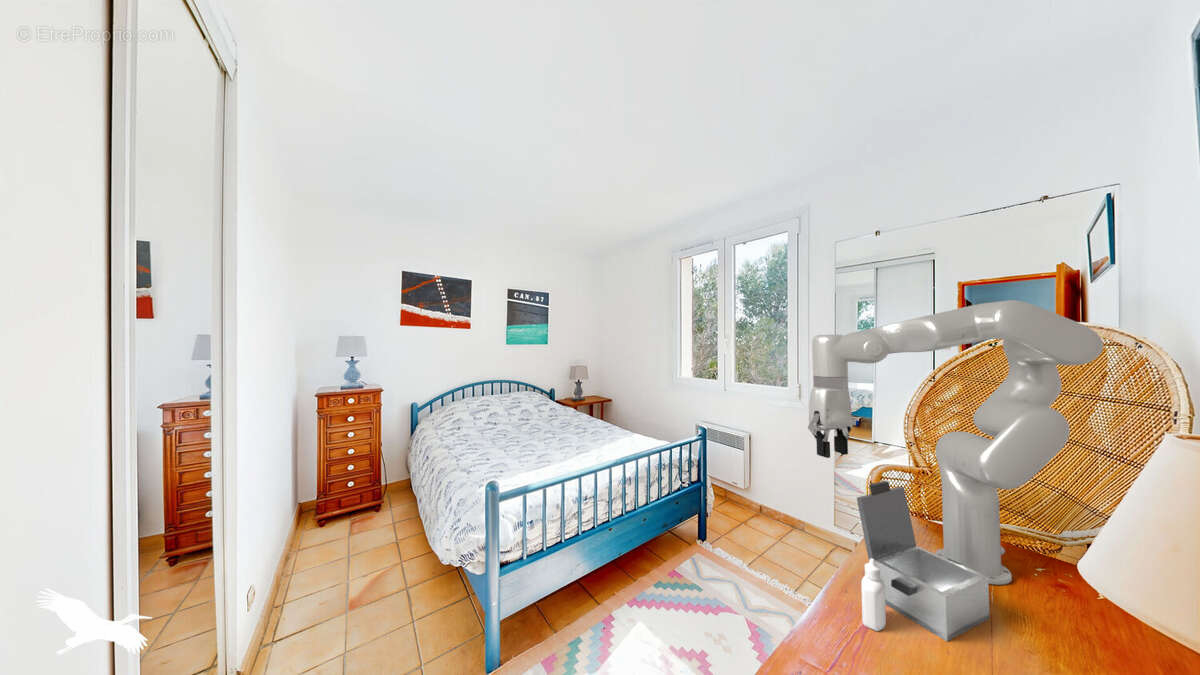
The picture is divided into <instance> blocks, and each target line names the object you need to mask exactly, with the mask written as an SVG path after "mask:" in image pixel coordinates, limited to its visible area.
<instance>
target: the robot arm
mask: <svg viewBox="0 0 1200 675" xmlns="http://www.w3.org/2000/svg"><path fill="white" fill-rule="evenodd" d="M811 340H812V343H811V344H812V346H811V347H812V348H811V352H812V375H813V376H812V379H813V380H812V382H813V384H812V385H813V387H812V388H811V391H810V396H809V403H808V404H809V406H808V423H809V424H808V426H807V429H808V430H809V432H811V434H812V435H813V437H814V439H815V441H816V456H820V457H823V458H827V459H829V458H831V443H830V442H831V441H828V440H829V436H830V431H833V430H834V433H835V435H834V436H833V442H834V445H833V446H834V448H833V449H834V452H835V453H839V454H842V455H849V439H850V432H851V431H852V427H853V426H854V425H855V421H854V419H853V416H852V411H853V410H852V403H851V402H852V401H851V397H850V396H851V395H850V391H849V372H848V371H849V366H848V363H857V364H858V363H860V364H869V365H870V364H871V365H872V364H876V363H879V362H881V361H883V360H884V359H886V357H888V355H890V354H898V353H900V354H901V353H926V352H935V351H939V350H944V349H949V348H952V347H957V346H962V345H966V344H973V343H978V342H982V341H983V342H984V341H988V340H1003V341H1002V348H1003V353H1004V355H1005V357H1006V359H1007V363H1008V373H1007V375H1006V378H1005V379H1004V380H1003V381H1002V383H1000V385H999V386H998V387H996V389H995V390H994V391H993V392H992V393H991V394H990V395H989V396H988V398H986V399H985V400H984V401H983V403H981V404H980V406H978V408H977V409H976V411H975V412H974V414H973V417H972V418H973V420H972V421H973V424H974V426H975V427H976V428H977V429H978V430H979V431H980V432H982V433H983V434H986V435H988V436H990V437H993V439H990V438H987V437H984V436H982V435H979V434H974V433H971V432H967V431H958V430H957V431H951V432H946V433H945V434H943V435H942V436H941V437H939V439H938V440H937V441H936V445H935V455H936V460H937V464H938V468H939V472H940V480H941V500H942V501H941V503H942V504H941V506H942V532H943V534H942V536H943V539H942V540H943V548H939V549H937V550H936V551H935V554H937V555H939V556H941V557H943V558H949V559H951V560H953V561H956V562H958V563H960V564H963V565H965V567H966V568H969V569H971V570H973V571H975V572H978V573H980V574H982V575H985V576H987V577H988V585H1000V586H1001V585H1008V584H1009V583H1011V582H1012V580H1013V578H1012V573H1011V571H1010V570H1009V569H1008V568H1007V567H1006V566H1004V565H1003V564H1002V555H1004V554H1005V553H1006V550H1005V548H1004V547H1003V546H1002V545H1001V525H1000V524H1001V523H1000V521H1001V520H1000V498H999V497H1000V496H999V491H998V489H999V490H1012V489H1013V490H1014V489H1016V488H1019V487H1021V486H1023V485H1025V484H1027V483H1028V482H1029V481H1031V479H1033V478H1034V477H1035V476H1036V475H1037V474H1038V473H1039V472H1040V471H1041V470H1042V469H1043V468H1044V467H1045V466H1046V465H1047V464H1048V463H1049V462H1050V461H1051V460H1052V459H1053V458H1055V456H1056V455H1057V454H1058V453H1059V452H1060V451H1062V449H1063V448H1064V447H1065V446H1066V444H1067V442H1068V440H1069V437H1070V433H1071V431H1070V430H1071V429H1070V424H1069V422H1068V420H1067V418H1066V417H1065V415H1063V414H1062V413H1061V412H1060V411H1058V410H1056V409H1054V408H1052V407H1051V405H1053V404H1054V402H1055V401H1056V400H1057V399H1058V397H1059V395H1060V393H1061V391H1062V387H1063V386H1062V380H1061V377H1060V373H1059V370H1058V368H1057V365H1058V366H1082V365H1085V364H1089V363H1091V362H1093V361H1095V360H1096V359H1097V358H1099V357H1100V355H1101V353H1102V352H1103V351H1104V350H1103V348H1104V342H1103V340H1102V337H1101V336H1100V335H1099V334H1098V333H1097V332H1096V331H1095V330H1094V329H1092V328H1090V327H1089V326H1087V325H1085V324H1082V323H1080V322H1078V321H1076V320H1073V319H1070V318H1068V317H1065V316H1062V315H1060V314H1058V313H1055V312H1053V311H1051V310H1048V309H1045V308H1043V307H1040V306H1038V305H1035V304H1032V303H1029V302H1026V301H1021V300H1015V299H1014V300H1013V299H1012V300H1011V299H1010V300H1003V301H1002V300H1001V301H991V302H985V303H984V302H983V303H978V304H977V303H976V304H973V305H968V306H964V307H958V308H955V309H950V310H945V311H941V312H938V313H933V314H929V315H924V316H920V317H916V318H911V319H906V320H903V321H900V322H896V323H891V324H886V325H882V326H876V327H871V328H867V329H863V330H859V331H854V332H850V333H847V334H845V335H842V334H819V335H815V336H813V338H812V339H811ZM822 431H823V433H822Z"/></svg>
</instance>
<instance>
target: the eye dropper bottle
mask: <svg viewBox="0 0 1200 675" xmlns="http://www.w3.org/2000/svg"><path fill="white" fill-rule="evenodd" d="M868 561H869V560H868ZM860 584H861V588H860V589H861V616H862V617H861V618H862V624H863V626H865V627H867V628H869V629H871V630H873V631H876V632H879V631H881V630H883V629H884V628H885V627H886V623H887V620H886V619H887V616H886V615H887V614H886V604H885V585H884V582H883V580H882V579H881V577H880V568H879V567H878V566H877V565H876V564H875V560H874V559H872V558H870V561H869V562H866V563H865V564H864V576H863V577H862V579H861V583H860Z"/></svg>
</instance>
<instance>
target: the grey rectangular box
mask: <svg viewBox="0 0 1200 675" xmlns="http://www.w3.org/2000/svg"><path fill="white" fill-rule="evenodd" d="M875 564H876V565H877V566H878V567H879V568H880V577H881V579H882V580H883V582H884V585H885V606H887V607H889V608H891V609H892V610H894V611H896V612H897V613H899V614H901V615H902V616H904V617H905V618H908V619H909V620H910V621H913V622H914V623H915V624H918V625H919V626H920V627H922V628H924V629H925V630H927V631H929V632H930V633H932V634H934V635H935V636H937V637H939V638H940V639H942V640H943V641H945V642H949V641H951V640H953V639H955V638H956V636H957V637H959V636H960V635H962V634H964V633H965V632H968V631H970V630H971V629H973V628H976V627H977V626H978V625H980V624H981V625H982V624H983V623H984V622H986V621H988V620H990V617H991V616H990V592H989V584H988V577H987V576H985V575H982V574H980V573H978V572H975V571H973V570H971V569H969V568H966V567H965V565H963V564H960V563H958V562H956V561H953V560H951V559H949V558H943V557H941V556H939V555H937V554H936V553H934V552H932V551H929V550H927V549H925V548H922V547H920V546H918V545H916V546H913V547H911V548H908V549H905V550H902V551H899V552H897V553H894V554H891V555H888V556H885V557H883V558H880V559H877V560H875ZM954 637H955V638H954ZM952 638H953V639H952Z"/></svg>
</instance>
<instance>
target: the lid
mask: <svg viewBox="0 0 1200 675" xmlns="http://www.w3.org/2000/svg"><path fill="white" fill-rule="evenodd" d="M869 491H870V494H865V495H861V496H858V497H856V501H857V507H858V512H859V516H860V521H861V522H860V523H861V527H862V533H863V538H864V542H865V543H864V544H865V548H866V553H867V554H866V555H867V558H868V561H870V558H872V559H874V560H877V559H880V558H883V557H885V556H888V555H891V554H894V553H897V552H899V551H902V550H905V549H908V548H911V547H913V546H917V542H916V537H915V536H916V535H915V533H914V527H913V523H912V518H911V514H910V510H909V506H908V500H907V496H906V490H905V488H904V487H902V486H896V487H893V488H891V487H890V481H885V480H883V481H879V482H875V483H870V484H869Z"/></svg>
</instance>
